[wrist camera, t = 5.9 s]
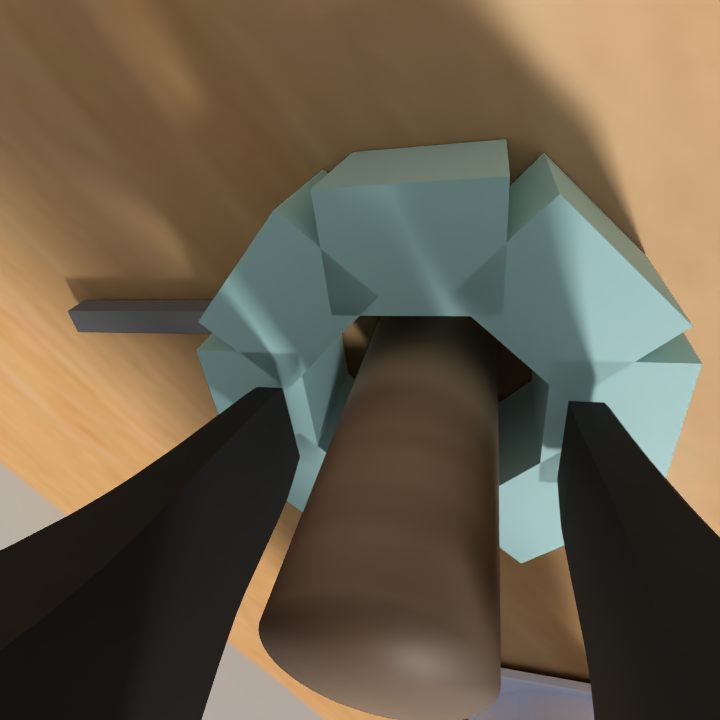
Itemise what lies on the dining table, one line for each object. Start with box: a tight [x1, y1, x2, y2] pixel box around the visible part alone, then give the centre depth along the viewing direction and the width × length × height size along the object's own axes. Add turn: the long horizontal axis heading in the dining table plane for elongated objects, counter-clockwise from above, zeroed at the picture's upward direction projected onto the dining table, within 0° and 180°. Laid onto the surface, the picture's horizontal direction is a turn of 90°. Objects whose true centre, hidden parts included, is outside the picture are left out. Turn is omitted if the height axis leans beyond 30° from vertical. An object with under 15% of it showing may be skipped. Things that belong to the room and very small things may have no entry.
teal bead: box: [196, 139, 702, 563], centre depth 12 cm, size 10×10×3 cm
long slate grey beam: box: [68, 300, 212, 334], centre depth 14 cm, size 1×6×1 cm, turn 97°
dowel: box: [259, 316, 501, 720], centre depth 10 cm, size 3×3×8 cm
